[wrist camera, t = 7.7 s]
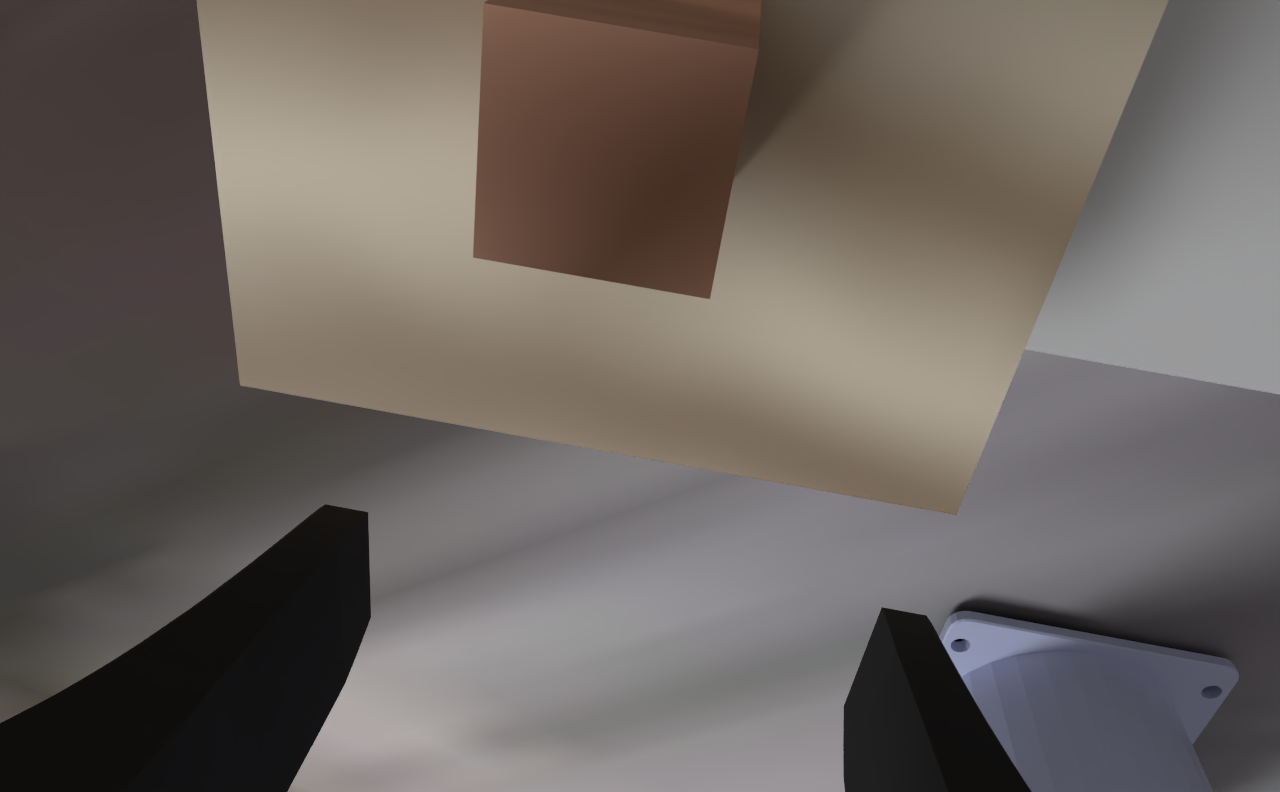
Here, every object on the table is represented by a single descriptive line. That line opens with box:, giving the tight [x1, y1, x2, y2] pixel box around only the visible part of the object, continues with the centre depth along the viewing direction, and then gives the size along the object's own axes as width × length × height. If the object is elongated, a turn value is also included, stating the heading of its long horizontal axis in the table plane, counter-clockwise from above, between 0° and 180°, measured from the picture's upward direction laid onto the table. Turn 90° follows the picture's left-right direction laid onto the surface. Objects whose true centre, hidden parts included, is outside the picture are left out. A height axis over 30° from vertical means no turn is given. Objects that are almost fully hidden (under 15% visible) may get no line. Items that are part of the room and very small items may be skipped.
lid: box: [197, 0, 1169, 515], centre depth 13 cm, size 14×14×5 cm
